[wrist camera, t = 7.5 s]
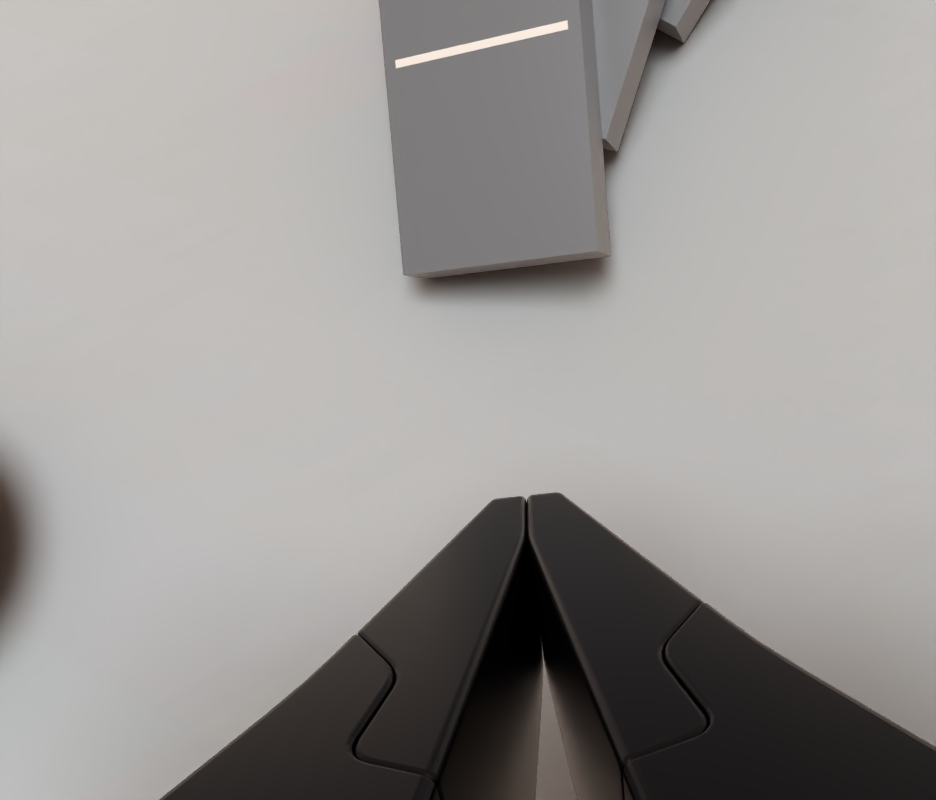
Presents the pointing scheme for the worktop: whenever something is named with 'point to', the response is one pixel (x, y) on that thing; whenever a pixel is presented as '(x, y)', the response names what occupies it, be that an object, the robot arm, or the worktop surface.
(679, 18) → the domino
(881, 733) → the robot arm
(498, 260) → the domino
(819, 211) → the worktop surface
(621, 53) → the domino
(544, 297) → the worktop surface
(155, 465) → the worktop surface
